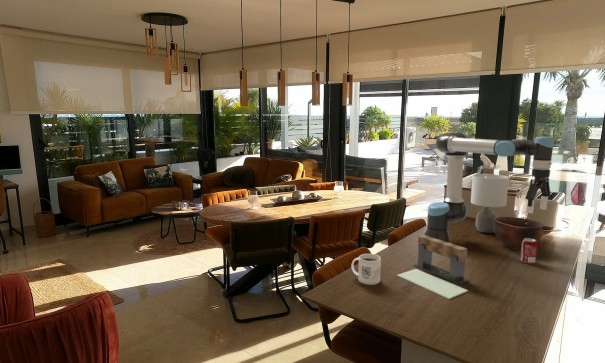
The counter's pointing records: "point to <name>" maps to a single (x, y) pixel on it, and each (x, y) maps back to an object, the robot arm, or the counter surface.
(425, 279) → the mat
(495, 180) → the lamp
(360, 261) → the mug
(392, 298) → the counter surface
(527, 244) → the soda can
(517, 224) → the bowl
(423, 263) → the rack
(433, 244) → the rail
